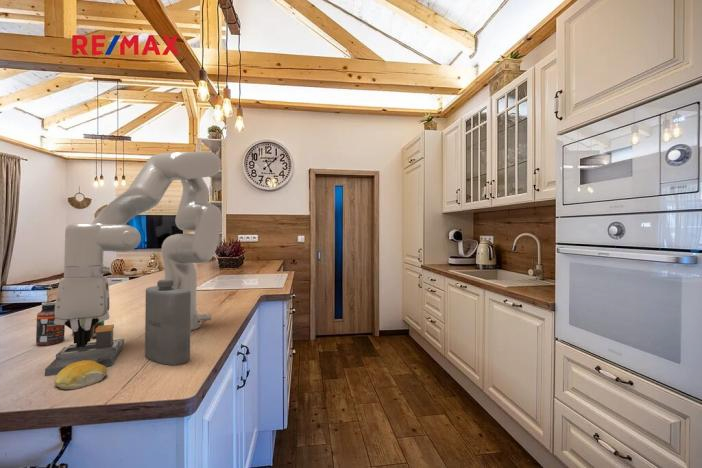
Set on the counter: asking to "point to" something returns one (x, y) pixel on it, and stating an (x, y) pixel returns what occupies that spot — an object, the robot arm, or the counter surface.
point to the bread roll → (80, 374)
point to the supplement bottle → (48, 326)
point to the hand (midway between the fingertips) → (82, 345)
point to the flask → (167, 324)
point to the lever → (104, 336)
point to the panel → (85, 355)
